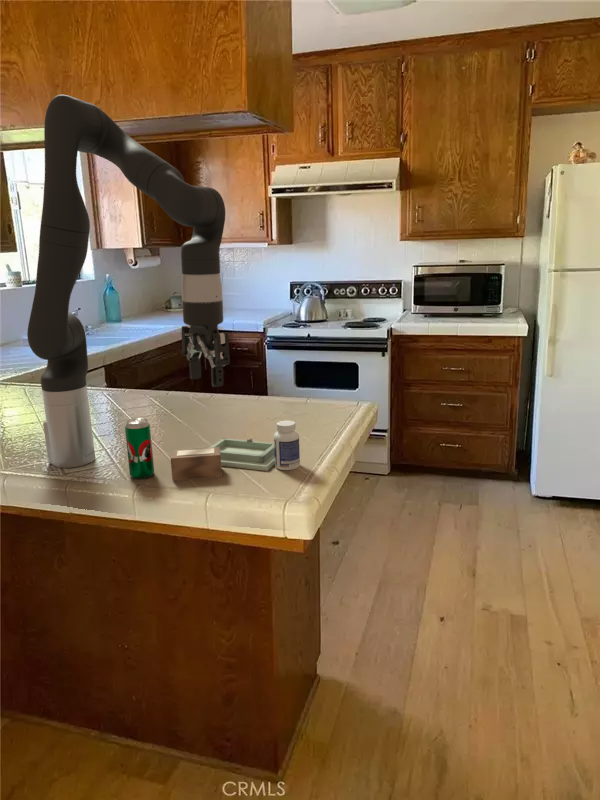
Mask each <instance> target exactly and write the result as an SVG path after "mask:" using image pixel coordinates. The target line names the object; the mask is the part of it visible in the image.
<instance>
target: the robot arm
mask: <svg viewBox="0 0 600 800" xmlns="http://www.w3.org/2000/svg"><path fill="white" fill-rule="evenodd" d="M44 117H45V118H44V128H43V129H44V130H43V133H44V134H43V135H44V137H43V138H44V182H43V196H42V197H43V200H42V212H41V219H40V228H39V229H40V230H39V239H38V242H39V243H38V258H37V265H36V266H37V269H36V278H35V279H36V280H35V290H34V291H35V292H34V295H33V300H32V305H31V310H30V316H29V320H28V325H27V332H26V335H27V337H26V338H27V342H28V345H29V347H30V349H31V351H32V353H34V355H35V356H36V357H38V358H39V359H42V360H45V361H47V364H46V368H45V369H44V371H43V373H42V374H41V377H40V385H41V393H42V400H43V401H42V402H43V405H44V406H43V407H44V408H43V409H44V414H45V420H46V421H44V422H43V424H42V425H43V433H44V441H45V447H46V454H47V462H48V464H51V465H52V466H53V467H57V468H62V469H64V468H65V469H67V468H68V469H69V468H77V467H82V466H85V465H88V464H91V463H92V462H94V460H96V452H95V444H94V435H93V427H92V426H93V425H92V418H91V411H90V409H91V408H90V401H89V395H88V386H87V374H88V370H89V360H88V347H87V335H86V332H85V328H84V325H83V323H82V321H81V320H80V319H79V318H78V317H77V315H75V314H73V313H71V312H69V309H70V302H71V301H70V299H71V295H72V292H73V289H74V287H75V284H76V282H77V280H78V278H79V275H80V273H81V271H82V269H83V266H84V264H85V261H86V258H87V254H88V249H89V239H90V238H89V237H90V232H91V221H90V218H89V217H90V216H89V213H88V210H87V206H86V204H85V202H84V199H83V196H82V194H81V191H80V190H81V189H80V187H79V184H78V183H79V182H78V178H77V177H78V176H77V165H78V164H77V163H78V152H80V153H86V154H93V155H95V156H98V157H100V158H103V159H104V160H107V161H109V162H110V163H111V164H114V165H115V166H116V167H118V168H119V170H120V171H121V173H122V174H123V175H124V177H125V179H127V180H128V181H129V183H131V185H133V186H134V187H135V188H137V189H138V190H140V191H141V192H142V193H143V194H145V195H146V196H148V197H149V198H150V199H152V200H154V201H156V203H157V204H158V205H159V207H160V208H161V209H162V210H163V211H164V213H166V215H167V216H168V217H169V218H170V219H172V220H173V221H175V222H176V223H177V224H179V225H181V226H185V227H188V228H192V229H193V230H192V234H191V237H190V238H191V239H190V240H188V241H186V242H184V243H183V244H182V245H181V251H180V254H181V255H180V259H181V260H180V261H181V302H182V303H181V304H182V305H181V306H182V320H183V321H182V322H183V323H184V324H185V325H183V326H181V354H182V356H183V357H186V360H187V361H188V366H189V378H190V379H191V380H197V379H201V378H202V363H201V356H202V354H203V355H204V357H205V359H207V360H208V363H209V365H210V378H211V381H210V383H211V386H212V387H214V388H218V387H223V386H224V367H225V366H227V365H230V364H231V356H230V355H231V354H230V342H229V333H228V332H227V331H226V332H219V327H218V326H219V325H221V324H223V323H224V305H223V304H224V302H223V285H222V278H221V264H220V263H221V260H220V250H221V249H220V248H221V244H222V240H223V234H224V230H225V229H224V228H225V223H226V206H225V201H224V199H223V197H222V195H221V193H220V192H219V191H218V190H216V189H215V188H213V187H209V186H199V185H191V184H189V183H187V182H185V180H184V176H183V175H182V173H181V172H180V171H179V169H177V168H176V167H174V166H173V165H172V164H170V163H169V162H168V161H166V160H164V159H163V158H161V157H160V156H158V155H157V154H155V153H154V152H152V151H151V150H149V149H148V148H146V147H145V146H143V145H142V144H140V143H139V142H137V141H136V140H135V139H133V138H132V137H131V136H130V135H129V134H127V132H125V131H124V130H123V129H122V128H121V127H120V126H119V125H118V124H117V123H116V122H115V121H114V120H113V119H112V117H110V116H109V115H108V114H107V113H106V112H105V111H103V110H102V109H101V108H100V107H99V106H97V105H95V104H93V103H91V102H88V101H85V100H82V99H79V98H77V97H74V96H70V95H66V94H57V95H56V96H54V97H52V99H51V100H50V102H49V103H48V106H47V108H46V112H45V115H44Z"/></svg>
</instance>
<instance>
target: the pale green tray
mask: <svg viewBox="0 0 600 800" xmlns="http://www.w3.org/2000/svg"><path fill="white" fill-rule="evenodd" d="M213 447H220V456H221V467H229V468H237V469H248V470H256V471H257V470H258V471H266V472H268V471H269V470H270V469H271V468H272V467H273V466H275V455H274V442H270V441H259V440H253V439H252V438H246V439H235V438H227V437H222V438H221V439H220V440H218V441H216V442H215V443H213V445H211V446H209V447H208V448H213Z"/></svg>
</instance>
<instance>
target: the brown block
mask: <svg viewBox="0 0 600 800" xmlns="http://www.w3.org/2000/svg"><path fill="white" fill-rule="evenodd" d="M170 467H171V478H172V479H171V480H174V481H185V480H186V479H187V480H197V479H211V478H222V476H223V475H222V466H221V456H220V447H213V448H209V447H204V448H203V447H202V448H201V447H199V448H188V449H187V448H186V449H185V448H184V449H172V450H171V455H170ZM187 480H186V481H187Z"/></svg>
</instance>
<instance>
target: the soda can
mask: <svg viewBox="0 0 600 800" xmlns="http://www.w3.org/2000/svg"><path fill="white" fill-rule="evenodd" d="M151 430H152V429H151V424H150V422H149V420H148V419H147V418H145V417H136V418H135V417H134V418H130V419H127V420H126V421H125V426H124V433H125V434H124V435H125V443H126V444H125V445H126V452H127V453H126V454H127V460H128V461H127V462H128V469H129V471H128V472H129V476H130V477H132V479H137V480H142V479H148V478H150V477H152V476H153V475H154V473H155V463H154V453H153V441H152V433H151V432H152V431H151Z"/></svg>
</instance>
